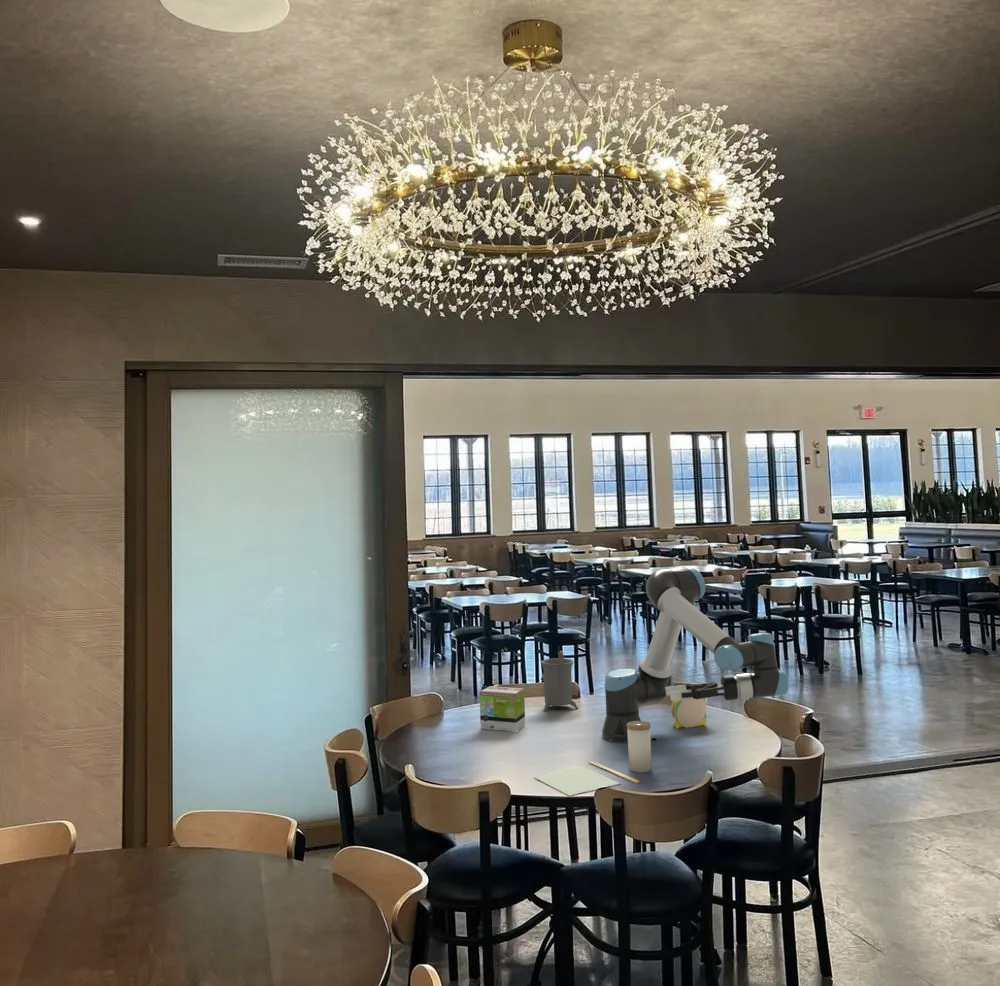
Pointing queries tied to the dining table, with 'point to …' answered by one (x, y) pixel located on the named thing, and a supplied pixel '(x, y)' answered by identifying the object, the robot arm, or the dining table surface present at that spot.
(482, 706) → the tea box
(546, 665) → the grey footed bucket
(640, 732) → the canister
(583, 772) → the mat
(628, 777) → the tan wooden stick
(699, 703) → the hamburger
